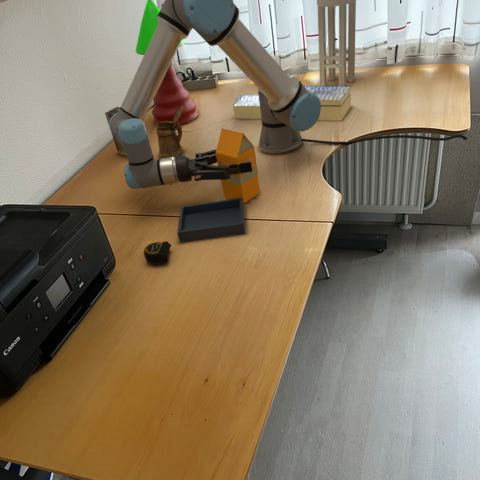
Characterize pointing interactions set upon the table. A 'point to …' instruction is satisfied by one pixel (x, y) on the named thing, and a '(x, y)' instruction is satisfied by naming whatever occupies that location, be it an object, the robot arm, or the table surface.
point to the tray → (211, 220)
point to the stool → (330, 2)
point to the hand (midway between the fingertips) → (251, 158)
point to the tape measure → (157, 252)
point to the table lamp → (165, 77)
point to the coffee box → (118, 145)
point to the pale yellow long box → (331, 98)
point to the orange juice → (235, 152)
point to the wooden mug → (170, 136)
